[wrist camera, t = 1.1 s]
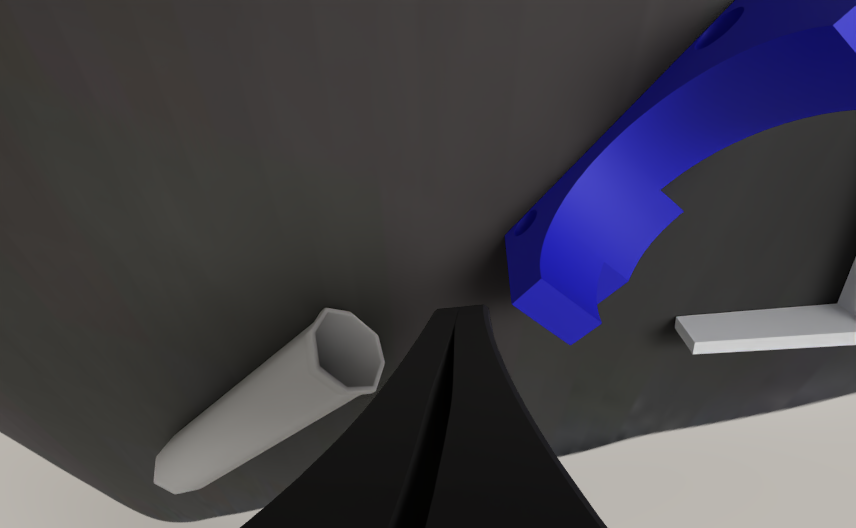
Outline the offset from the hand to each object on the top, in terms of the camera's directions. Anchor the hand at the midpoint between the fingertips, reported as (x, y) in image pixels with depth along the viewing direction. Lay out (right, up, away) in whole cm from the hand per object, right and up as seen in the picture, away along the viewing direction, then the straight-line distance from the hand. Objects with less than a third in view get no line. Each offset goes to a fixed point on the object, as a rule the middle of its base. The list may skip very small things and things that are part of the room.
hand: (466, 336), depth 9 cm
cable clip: (+8, +6, +6) cm, 12 cm away
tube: (-14, -8, +19) cm, 25 cm away
